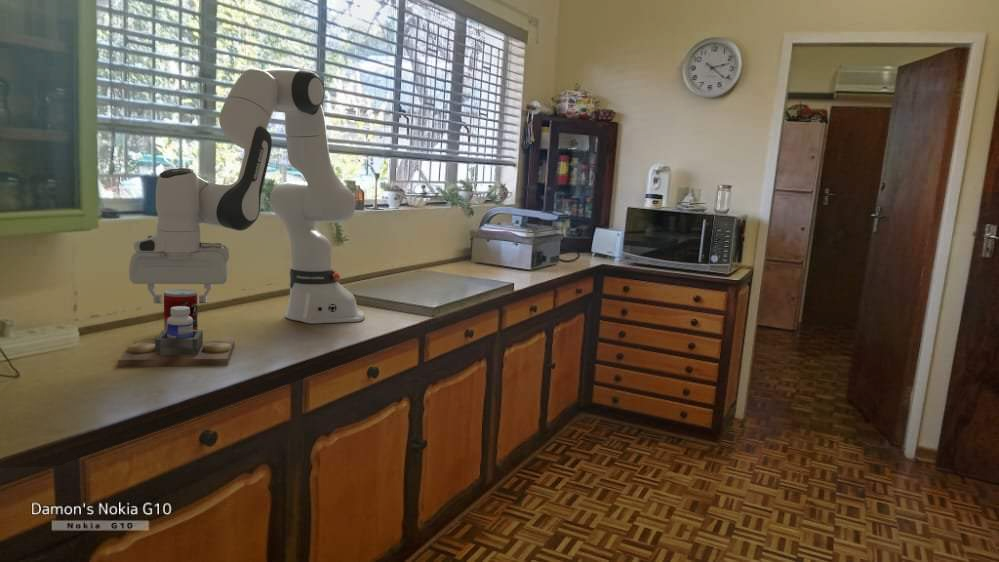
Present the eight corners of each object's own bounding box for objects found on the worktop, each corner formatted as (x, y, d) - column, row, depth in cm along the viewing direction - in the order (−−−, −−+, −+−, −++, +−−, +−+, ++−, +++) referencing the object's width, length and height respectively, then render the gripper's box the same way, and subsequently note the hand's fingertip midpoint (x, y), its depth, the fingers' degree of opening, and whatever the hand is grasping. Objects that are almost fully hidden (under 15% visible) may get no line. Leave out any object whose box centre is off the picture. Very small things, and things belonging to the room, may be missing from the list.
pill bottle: (163, 348, 164) (162, 306, 162) (186, 345, 168) (186, 304, 166) (173, 354, 160) (173, 311, 158) (197, 350, 164) (197, 308, 162)
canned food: (185, 338, 179) (185, 295, 177) (157, 335, 180) (156, 292, 178) (204, 332, 186) (203, 290, 184) (176, 328, 188) (176, 287, 186)
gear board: (234, 346, 174) (234, 326, 174) (227, 365, 159) (227, 343, 158) (135, 347, 169) (134, 326, 168) (118, 366, 153) (117, 344, 153)
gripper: (230, 241, 166) (230, 299, 168) (132, 239, 160) (134, 300, 163) (227, 245, 160) (228, 305, 162) (125, 243, 154) (128, 306, 157)
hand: (180, 303), depth 162 cm, fingers open, 8 cm apart
